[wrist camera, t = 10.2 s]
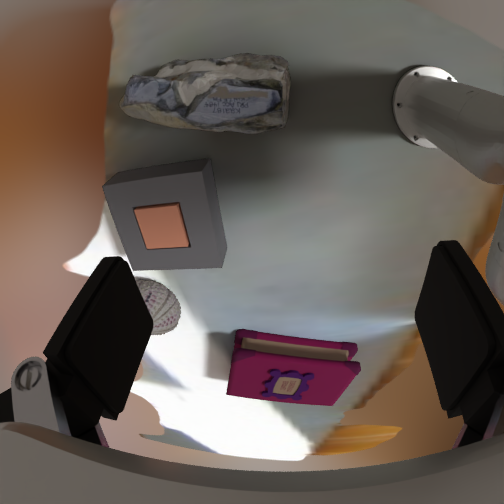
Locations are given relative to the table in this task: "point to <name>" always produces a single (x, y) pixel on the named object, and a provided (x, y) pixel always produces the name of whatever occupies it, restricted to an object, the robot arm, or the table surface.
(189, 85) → the fossil rock
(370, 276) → the table surface
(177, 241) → the button
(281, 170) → the table surface
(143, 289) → the sea urchin shell
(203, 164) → the button box
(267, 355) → the book
